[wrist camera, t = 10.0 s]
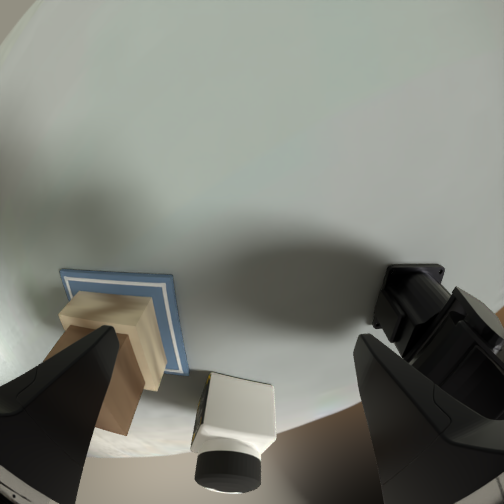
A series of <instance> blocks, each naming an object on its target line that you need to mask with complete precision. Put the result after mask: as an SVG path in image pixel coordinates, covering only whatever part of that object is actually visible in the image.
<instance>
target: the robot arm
mask: <svg viewBox="0 0 504 504" xmlns="http://www.w3.org/2000/svg"><path fill="white" fill-rule="evenodd" d="M393 270H394V272H393V273H391V271H393ZM439 271H440V272H439ZM444 272H445V269H444V267H443V266H441V265H392V266H389V267H388V268H387V271H386V275H385V279H384V283H383V287H382V289H381V291H380V294H379V297H378V301H377V305H376V308H375V312H374V314H375V315H374V319H373V322H372V325H373V327H374V328H375V329H383V331H384V333H385V334H386V336H387V338H388V340H389V341H390V343H394V344H395V346H396V347H397V349H398V351H399V353H400V355H401V357H402V358H403V359H402V358H401V357H400V356H399V355H397V354H396V353H395V352H393V351H392V350H391V349H390V348H388V347H387V346H386V345H384V344H383V343H382V342H381V341H379V340H378V339H377V338H375V337H374V336H373V335H371V334H360V335H359V336H358V339H357V342H356V345H355V348H354V352H353V356H354V362H355V368H356V375H357V381H358V387H359V393H360V397H361V400H362V404H363V408H364V412H365V415H366V419H367V423H368V427H369V431H370V436H371V440H372V444H373V448H374V452H375V457H376V462H377V466H378V472H379V476H380V482H381V485H382V493H383V498H384V504H504V329H503V327H502V325H501V323H500V321H499V319H498V317H497V316H496V315H495V314H494V313H493V312H492V311H491V310H490V309H489V308H488V307H487V306H486V305H485V304H484V303H483V302H481V301H480V300H478V299H477V298H475V297H473V296H472V295H470V294H468V293H467V292H465V291H463V290H462V289H460V288H458V287H457V286H456V287H455V288H454V290H453V291H452V295H451V294H450V293H449V292H448V291H447V290H446V289H445V288H444V287H443V286H442V285H441V281H442V278H443V275H444ZM377 323H378V324H377ZM119 346H120V344H119V340H118V337H117V334H116V331H115V329H114V327H113V326H110V325H102V326H101V327H99V328H97V329H96V330H94V331H92V332H91V333H89V334H88V335H86V336H84V337H83V338H81V339H79V340H78V341H76V342H74V343H73V344H71V345H70V346H68V347H66V348H65V349H63V350H62V351H60V352H58V353H57V354H55V355H53V356H52V357H50V358H49V359H47V360H45V361H44V362H42V363H41V364H39V365H38V366H36V367H34V368H33V369H31V370H29V371H28V372H26V373H24V374H23V375H21V376H19V377H17V378H16V379H14V380H12V381H10V382H8V383H6V384H4V385H2V386H0V504H49V501H50V499H52V500H54V501H55V502H57V503H59V504H75V501H76V496H77V492H78V487H79V483H80V479H81V475H82V471H83V466H84V463H85V459H86V455H87V452H88V448H89V445H90V441H91V438H92V435H93V431H94V428H95V425H96V422H97V419H98V416H99V413H100V410H101V407H102V404H103V401H104V398H105V395H106V392H107V390H108V387H109V384H110V381H111V378H112V374H113V370H114V366H115V362H116V358H117V355H118V351H119Z"/></svg>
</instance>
